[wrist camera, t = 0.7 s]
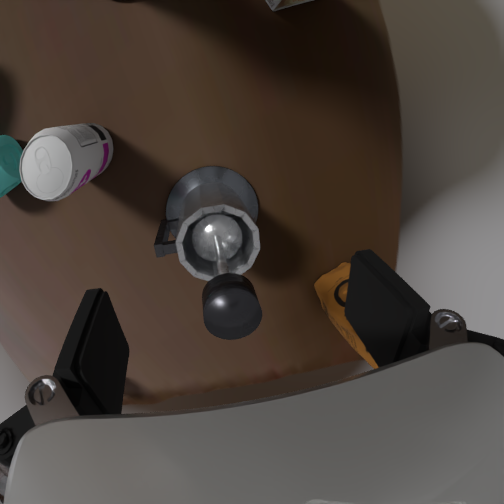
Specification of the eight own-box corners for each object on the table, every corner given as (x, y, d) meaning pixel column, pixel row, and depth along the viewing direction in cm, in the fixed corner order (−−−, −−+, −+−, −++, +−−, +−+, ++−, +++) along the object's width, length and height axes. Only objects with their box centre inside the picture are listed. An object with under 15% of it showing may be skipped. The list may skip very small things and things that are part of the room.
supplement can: (121, 164, 39) (88, 187, 26) (76, 184, 39) (30, 216, 26) (105, 114, 36) (64, 114, 22) (59, 136, 35) (6, 150, 22)
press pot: (155, 175, 41) (140, 197, 30) (253, 160, 43) (274, 176, 31) (172, 259, 47) (167, 306, 36) (260, 245, 49) (281, 286, 38)
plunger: (188, 217, 34) (185, 291, 20) (238, 209, 35) (270, 277, 21) (196, 262, 37) (201, 351, 23) (243, 254, 38) (274, 339, 24)
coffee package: (350, 252, 53) (421, 323, 33) (369, 295, 59) (429, 366, 39) (306, 281, 54) (359, 367, 34) (330, 321, 60) (378, 401, 40)
